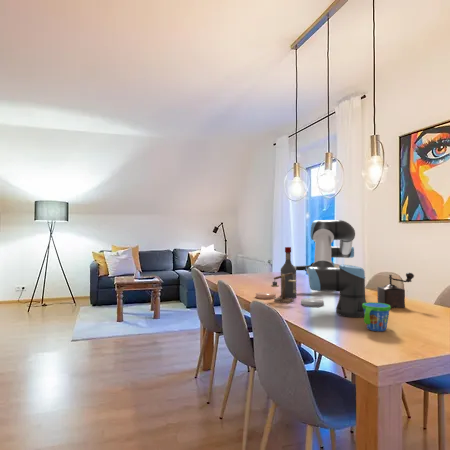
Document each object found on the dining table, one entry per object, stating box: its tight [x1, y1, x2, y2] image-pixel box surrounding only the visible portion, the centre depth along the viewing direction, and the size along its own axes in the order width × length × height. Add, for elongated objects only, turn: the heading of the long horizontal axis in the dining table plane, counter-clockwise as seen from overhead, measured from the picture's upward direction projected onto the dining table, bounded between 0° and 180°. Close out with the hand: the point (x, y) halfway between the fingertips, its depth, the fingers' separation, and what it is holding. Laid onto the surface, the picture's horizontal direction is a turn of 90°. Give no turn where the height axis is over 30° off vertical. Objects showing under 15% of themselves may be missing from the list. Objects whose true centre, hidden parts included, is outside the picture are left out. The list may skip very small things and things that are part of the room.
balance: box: [270, 273, 297, 304], centre depth 204 cm, size 15×6×17 cm, turn 57°
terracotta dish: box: [255, 291, 277, 300], centre depth 217 cm, size 12×12×2 cm
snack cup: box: [362, 302, 391, 332], centre depth 147 cm, size 16×10×10 cm
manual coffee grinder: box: [376, 272, 415, 309], centre depth 190 cm, size 16×11×18 cm
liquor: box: [280, 246, 297, 299], centre depth 218 cm, size 9×9×30 cm
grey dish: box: [300, 297, 325, 308], centre depth 196 cm, size 12×12×2 cm
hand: (298, 270), depth 225 cm, fingers open, 13 cm apart
